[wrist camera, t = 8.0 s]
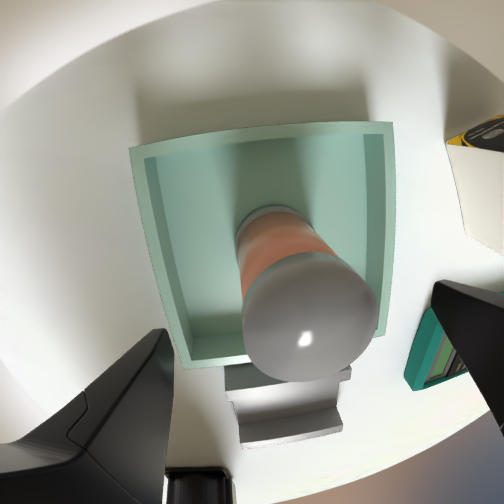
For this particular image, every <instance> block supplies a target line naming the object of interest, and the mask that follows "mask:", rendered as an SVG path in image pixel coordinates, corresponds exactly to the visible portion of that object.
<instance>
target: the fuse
mask: <svg viewBox="0 0 504 504" xmlns="http://www.w3.org/2000/svg"><path fill="white" fill-rule="evenodd" d="M234 244H235V256H236V261H237V264H238V267H239V274H240V283H241V292H242V301H243V304H242V310H241V319H242V329H243V339H244V346H245V350H246V353H247V355H248V357H249V359H250V360H251V361H252V363H253V364H254V365H255V366H256V367H257V368H258V369H259V370H260V371H262V372H263V373H265V374H266V375H268V376H270V377H273V378H275V379H278V380H282V381H288V382H308V381H315V380H319V379H322V378H325V377H328V376H331V375H333V374H335V373H337V372H339V371H341V370H342V369H344V368H345V367H347V366H348V365H350V364H351V363H352V362H353V361H355V360H356V359H357V358H358V357H359V356H360V355H361V354H362V353H363V351H364V350H365V349H366V348H367V346H368V345H369V343H370V341H371V340H372V338H373V336H374V333H375V330H376V327H377V323H378V315H379V310H378V303H377V300H376V297H375V295H374V292H373V291H372V289H371V288H370V286H369V285H368V284H367V283H366V282H365V281H364V280H363V278H362V277H361V276H360V275H359V274H358V273H357V272H356V271H355V270H354V269H353V268H352V267H351V266H350V265H349V264H348V263H347V262H346V261H344V260H343V259H341V258H339V256H338V255H337V254H336V253H335V252H334V251H333V250H332V249H331V248H330V247H329V246H328V244H327V243H326V242H325V241H324V240H323V239H322V238H321V237H320V236H319V235H318V234H317V233H316V231H315V229H314V228H313V226H312V225H311V223H310V222H309V221H308V220H307V219H306V218H305V217H304V216H303V215H302V214H301V213H300V212H298V211H297V210H296V209H294V208H292V207H289V206H286V205H282V204H269V205H264V206H261V207H259V208H257V209H255V210H253V211H252V212H250V213H249V214H248V215H247V216H246V217H245V218H244V219H243V220H242V222H241V223H240V225H239V227H238V229H237V231H236V235H235V243H234Z"/></svg>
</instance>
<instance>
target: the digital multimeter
mask: <svg viewBox="0 0 504 504" xmlns="http://www.w3.org/2000/svg"><path fill="white" fill-rule="evenodd" d="M499 294H501V295H504V292H502V293H499ZM466 372H468V370H467V368H466V367H465V365H464V363H463V362H462V360H461V359H460V357H459V355H458V354H457V352H456V351H455V349H454V348H453V346H452V344H451V343H450V341H449V340H448V338H447V336H446V334H445V332H444V330H443V328H442V327H441V325H440V323H439V321H438V319H437V317H436V316H435V314H434V312H433V310H432V308H429V309H428V310H426V312H425V314H424V316H423V319H422V321H421V324H420V326H419V329H418V332H417V335H416V337H415V340H414V343H413V346H412V349H411V352H410V355H409V359H408V362H407V366H406V370H405V374H404V378H405V380H406V381H407V383H408V384H409V386H410V388H411V389H412V390H413V391H418V390H423V389H426V388H429V387H431V386H434V385H437V384H439V383H442V382H444V381H447V380H449V379H452V378H454V377H457V376H459V375H461V374H464V373H466Z"/></svg>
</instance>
